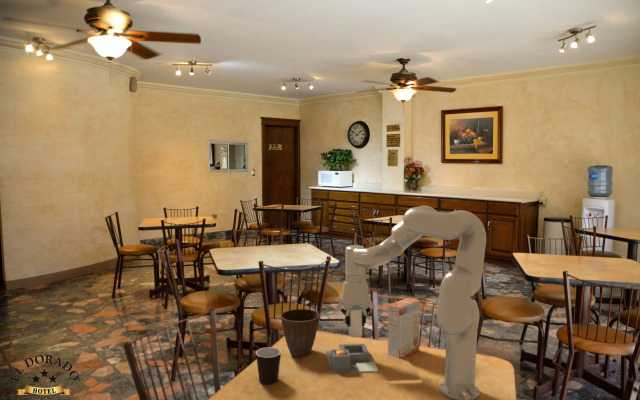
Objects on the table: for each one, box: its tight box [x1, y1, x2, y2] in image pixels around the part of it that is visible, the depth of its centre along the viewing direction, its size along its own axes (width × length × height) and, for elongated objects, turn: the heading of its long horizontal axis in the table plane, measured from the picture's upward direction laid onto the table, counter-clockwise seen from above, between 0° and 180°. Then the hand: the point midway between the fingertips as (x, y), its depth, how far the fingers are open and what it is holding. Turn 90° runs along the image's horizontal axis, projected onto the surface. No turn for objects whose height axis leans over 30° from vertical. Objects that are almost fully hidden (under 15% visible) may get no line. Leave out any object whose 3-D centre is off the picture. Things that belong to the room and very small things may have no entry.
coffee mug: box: [255, 346, 282, 386], centre depth 162 cm, size 12×9×10 cm
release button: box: [336, 349, 346, 356], centre depth 168 cm, size 4×4×4 cm
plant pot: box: [280, 308, 320, 359], centre depth 182 cm, size 15×15×16 cm
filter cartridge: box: [348, 306, 363, 338], centre depth 177 cm, size 5×5×12 cm
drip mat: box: [356, 361, 379, 374], centre depth 169 cm, size 7×7×1 cm
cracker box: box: [387, 297, 421, 359], centre depth 183 cm, size 14×6×21 cm, turn 134°
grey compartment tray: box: [325, 343, 379, 375], centre depth 174 cm, size 20×17×6 cm
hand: (355, 324), depth 177 cm, fingers closed on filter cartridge, 5 cm apart
